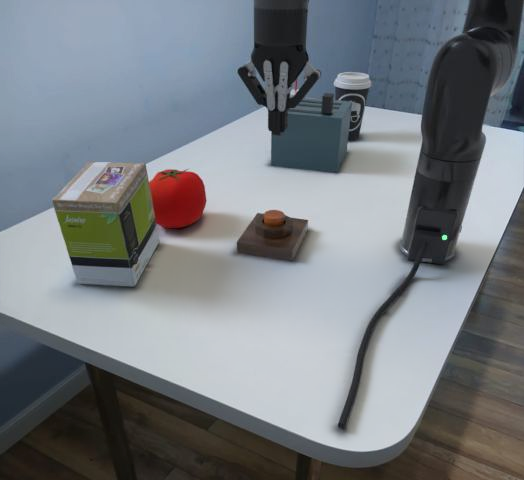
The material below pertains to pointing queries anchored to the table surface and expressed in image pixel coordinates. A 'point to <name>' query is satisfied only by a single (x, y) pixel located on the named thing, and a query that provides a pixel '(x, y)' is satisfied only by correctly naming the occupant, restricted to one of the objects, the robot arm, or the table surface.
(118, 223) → the tea box
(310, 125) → the toaster
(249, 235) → the block
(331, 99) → the slider
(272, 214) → the button
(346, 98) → the coffee cup
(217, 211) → the table surface
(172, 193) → the tomato
